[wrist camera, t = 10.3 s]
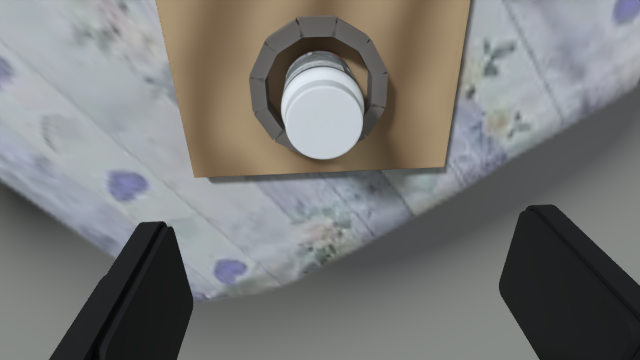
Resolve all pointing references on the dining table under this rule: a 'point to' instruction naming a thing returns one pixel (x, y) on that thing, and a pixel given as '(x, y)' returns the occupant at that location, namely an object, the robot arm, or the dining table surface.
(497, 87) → the dining table surface
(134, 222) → the dining table surface
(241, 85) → the ring jig
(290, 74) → the pill bottle
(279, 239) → the dining table surface
